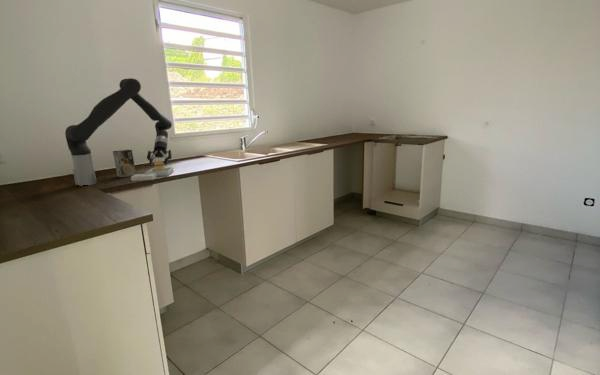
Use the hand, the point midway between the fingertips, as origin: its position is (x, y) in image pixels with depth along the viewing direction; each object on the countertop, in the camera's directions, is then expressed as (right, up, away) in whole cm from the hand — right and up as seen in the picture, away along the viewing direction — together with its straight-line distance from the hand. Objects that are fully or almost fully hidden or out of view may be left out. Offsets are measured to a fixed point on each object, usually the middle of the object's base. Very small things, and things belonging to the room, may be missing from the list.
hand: (158, 164), depth 203 cm
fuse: (0, -5, +3) cm, 6 cm away
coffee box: (-21, -7, +2) cm, 22 cm away
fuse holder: (-4, -9, -9) cm, 14 cm away
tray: (0, -6, +3) cm, 7 cm away
